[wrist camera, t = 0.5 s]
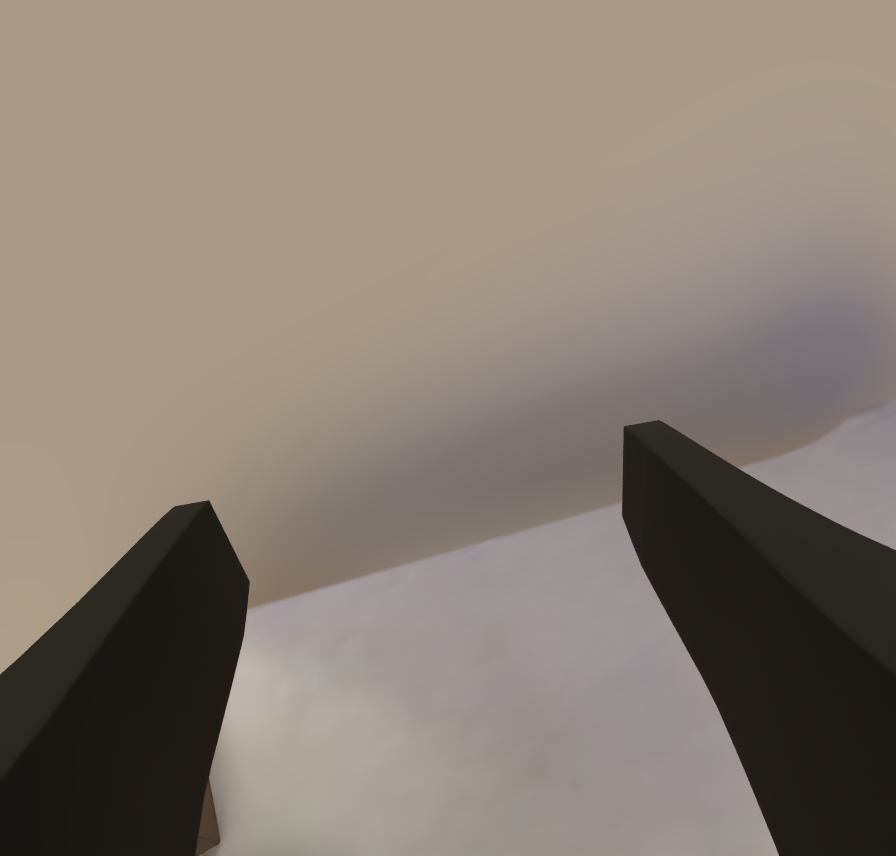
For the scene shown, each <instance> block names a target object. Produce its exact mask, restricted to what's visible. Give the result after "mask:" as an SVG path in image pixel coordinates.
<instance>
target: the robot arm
mask: <svg viewBox="0 0 896 856" xmlns="http://www.w3.org/2000/svg"><path fill="white" fill-rule="evenodd" d="M622 517H623V519H624V522H625V525H626V527H627V530H628V533H629V535H630V538H631V541H632V543H633V546H634V548H635V551H636V553H637V556H638V558H639V561H640V563H641V566H642V568H643V569H644V571H645V573H646V575H647V577H648V579H649V581H650V583H651V585H652V586H653V588H654V590H655V592H656V594H657V596H658V597H659V599H660V601H661V603H662V605H663V607H664V609H665V610H666V612H667V614H668V616H669V618H670V619H671V621H672V623H673V625H674V627H675V629H676V630H677V632H678V634H679V636H680V638H681V640H682V641H683V643H684V645H685V647H686V649H687V650H688V652H689V654H690V656H691V658H692V660H693V661H694V663H695V665H696V667H697V669H698V670H699V672H700V674H701V676H702V678H703V680H704V681H705V683H706V685H707V687H708V689H709V691H710V693H711V696H712V698H713V700H714V702H715V704H716V706H717V708H718V710H719V712H720V714H721V717H722V719H723V721H724V724H725V726H726V728H727V731H728V733H729V735H730V737H731V740H732V742H733V744H734V747H735V749H736V751H737V754H738V756H739V758H740V761H741V763H742V765H743V768H744V770H745V772H746V775H747V777H748V780H749V782H750V785H751V787H752V790H753V792H754V794H755V797H756V799H757V802H758V804H759V807H760V809H761V812H762V814H763V816H764V819H765V821H766V824H767V826H768V829H769V831H770V833H771V836H772V838H773V841H774V843H775V846H776V849H777V851H778V854H779V856H896V550H894V549H892V548H889V547H887V546H885V545H883V544H880V543H878V542H876V541H874V540H872V539H869V538H867V537H865V536H863V535H860V534H858V533H856V532H854V531H852V530H850V529H848V528H846V527H844V526H842V525H840V524H838V523H836V522H834V521H832V520H830V519H828V518H826V517H824V516H822V515H820V514H818V513H817V512H815V511H813V510H811V509H809V508H807V507H805V506H803V505H801V504H799V503H797V502H796V501H794V500H792V499H790V498H788V497H786V496H785V495H783V494H781V493H779V492H778V491H776V490H774V489H772V488H770V487H769V486H767V485H765V484H763V483H762V482H760V481H758V480H757V479H755V478H753V477H751V476H750V475H748V474H746V473H745V472H743V471H741V470H740V469H738V468H736V467H735V466H733V465H731V464H730V463H728V462H726V461H725V460H723V459H722V458H720V457H718V456H717V455H715V454H714V453H712V452H710V451H709V450H707V449H705V448H704V447H702V446H701V445H699V444H698V443H696V442H694V441H693V440H691V439H690V438H688V437H686V436H685V435H683V434H682V433H680V432H678V431H677V430H675V429H673V428H672V427H670V426H668V425H667V424H665V423H663V422H662V421H659V420H658V421H652V422H646V423H641V424H635V425H629V426H624V446H623V497H622ZM249 583H250V581H249V579H248V577H247V575H246V573H245V571H244V569H243V567H242V565H241V564H240V562H239V559H238V557H237V555H236V553H235V551H234V550H233V548H232V546H231V544H230V541H229V539H228V537H227V535H226V533H225V532H224V530H223V527H222V525H221V523H220V522H219V519H218V517H217V516H216V513H215V511H214V510H213V507H212V505H211V503H210V501H209V500H208V501H203V502H197V503H191V504H186V505H180V506H175V507H173V508H172V509H171V510H170V511H169V512H168V513H166V514H165V515H164V516H163V517H162V518H161V519H160V520H159V521H158V522H157V523H156V524H155V525H154V526H153V527H152V528H151V529H150V530H149V531H148V532H147V533H146V534H145V535H144V536H143V537H142V538H141V539H140V540H139V541H138V542H137V543H136V544H135V545H134V546H133V547H132V548H131V549H130V550H129V551H128V552H127V553H126V554H125V555H124V556H123V557H122V558H121V559H120V560H119V561H118V562H117V563H116V564H115V565H114V566H113V567H112V568H111V569H110V571H108V572H107V573H106V574H105V575H104V576H103V577H102V578H101V579H100V581H98V583H97V584H96V585H94V586H93V587H92V589H91V590H89V591H88V592H87V594H86V595H85V596H84V597H83V598H82V599H81V600H80V601H79V602H77V603H76V604H75V606H73V607H72V608H71V609H70V610H69V611H68V612H67V613H66V614H65V615H64V616H63V617H62V618H61V619H60V620H59V621H58V622H56V623H55V624H54V625H53V626H52V627H51V628H50V629H49V630H48V631H47V632H46V633H45V634H44V635H43V636H42V637H40V639H38V640H37V641H36V642H35V643H34V644H33V645H32V646H31V647H30V648H29V649H28V650H27V651H26V652H25V653H24V654H23V655H22V656H20V657H19V658H18V659H17V660H16V661H15V662H14V663H13V664H12V665H10V666H9V667H8V668H7V669H6V670H5V671H4V672H2V673H1V674H0V856H195V855H196V848H197V842H198V835H199V829H200V822H201V816H202V809H203V803H204V797H205V792H206V788H207V783H208V778H209V774H210V769H211V765H212V761H213V757H214V753H215V749H216V745H217V741H218V737H219V733H220V730H221V726H222V722H223V718H224V714H225V710H226V706H227V702H228V698H229V694H230V690H231V686H232V683H233V678H234V674H235V670H236V666H237V662H238V658H239V654H240V650H241V646H242V641H243V637H244V630H245V622H246V614H247V604H248V594H249Z"/></svg>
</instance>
